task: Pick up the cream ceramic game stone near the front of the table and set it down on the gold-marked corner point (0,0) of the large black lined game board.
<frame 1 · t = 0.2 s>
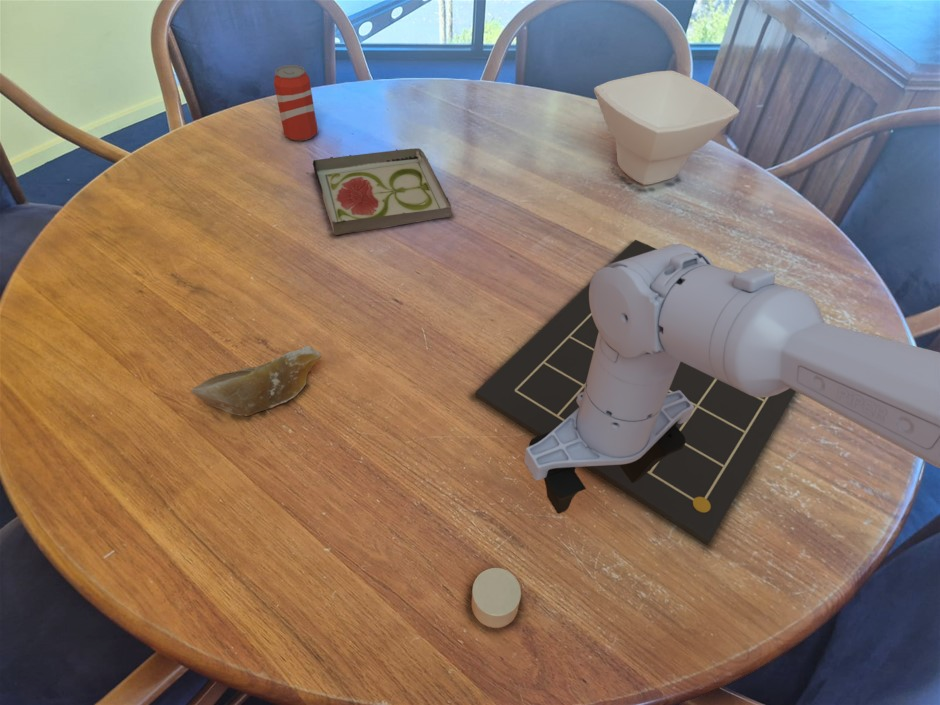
hand: (593, 488, 55), 10 cm above the table, tool pointing down, fingers open, 7 cm apart
game stone: (494, 603, 58), on the table
board: (662, 362, 80), on the table
bowl: (645, 175, 111), on the table
decorative tile: (380, 195, 105), on the table
beverage can: (301, 135, 118), on the table
stone: (264, 391, 75), on the table
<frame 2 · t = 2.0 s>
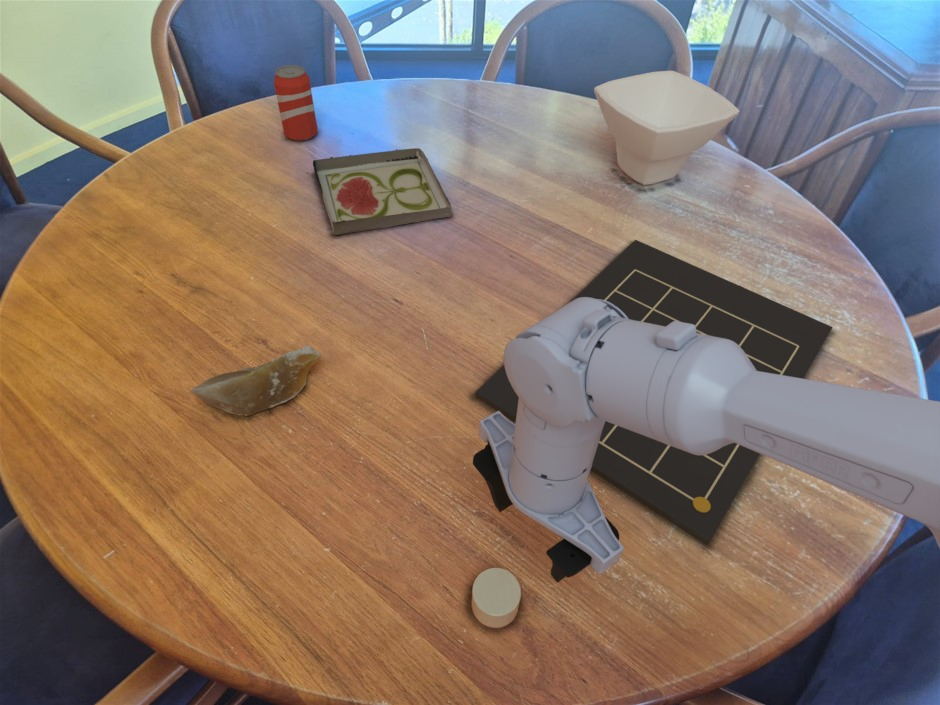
hand: (534, 536, 53), 9 cm above the table, tool pointing down, fingers open, 7 cm apart
nothing on the table moved.
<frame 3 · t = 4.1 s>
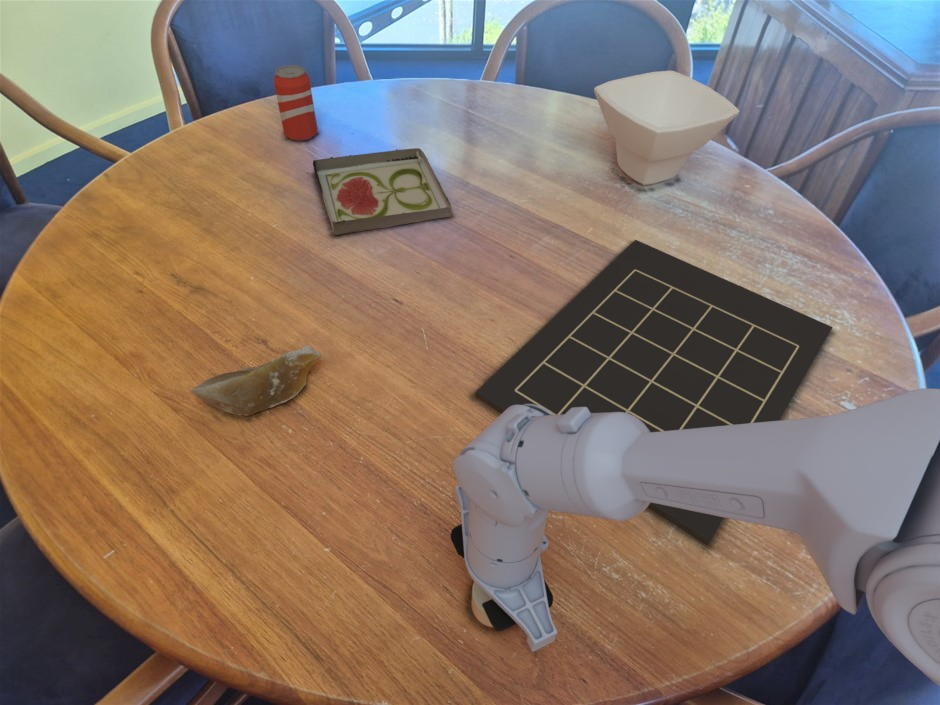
hand: (495, 598, 57), 1 cm above the table, tool pointing down, fingers closed on game stone, 4 cm apart
game stone: (494, 603, 58), on the table, touching gripper
everything else where it was.
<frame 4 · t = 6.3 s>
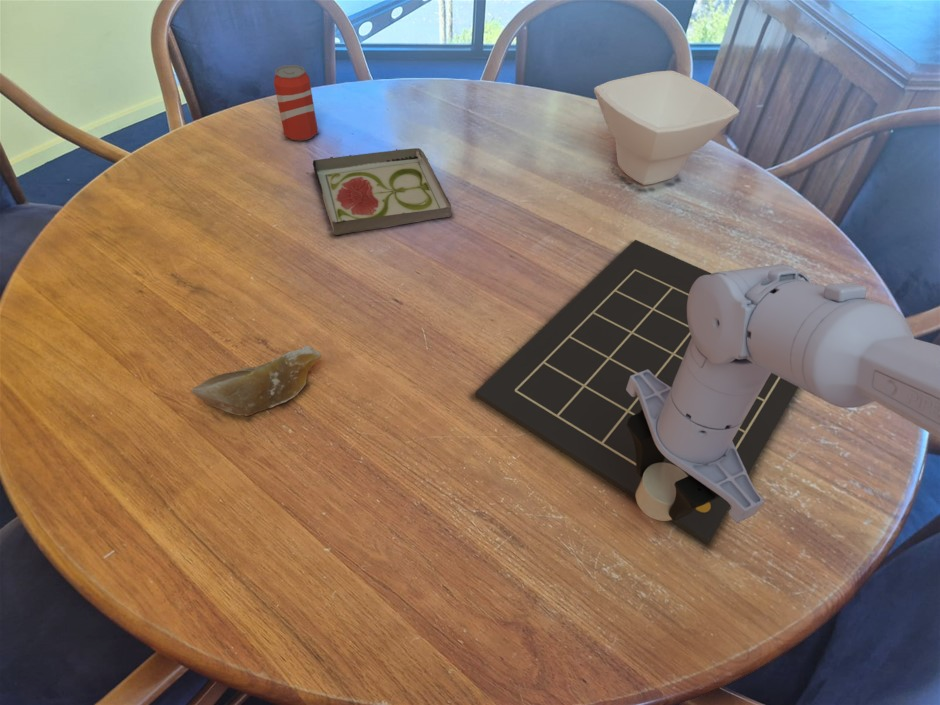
hand: (663, 492, 57), 8 cm above the table, tool pointing down, fingers closed on game stone, 4 cm apart
game stone: (659, 499, 58), point 7 cm above the table, touching gripper
everything else where it was.
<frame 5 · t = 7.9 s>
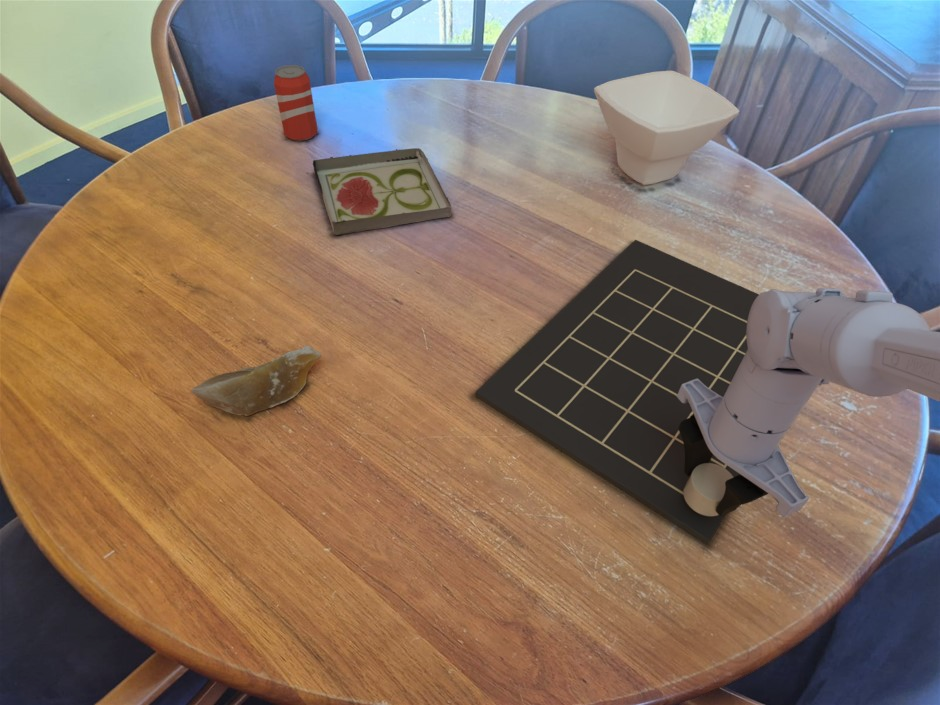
hand: (709, 490, 63), 4 cm above the table, tool pointing down, fingers closed on game stone, 4 cm apart
game stone: (705, 497, 64), point 2 cm above the table, touching gripper
everything else where it was.
when the fingers open (2 cm above the table, at t = 8.8 s): game stone stays where it is, resting on board.
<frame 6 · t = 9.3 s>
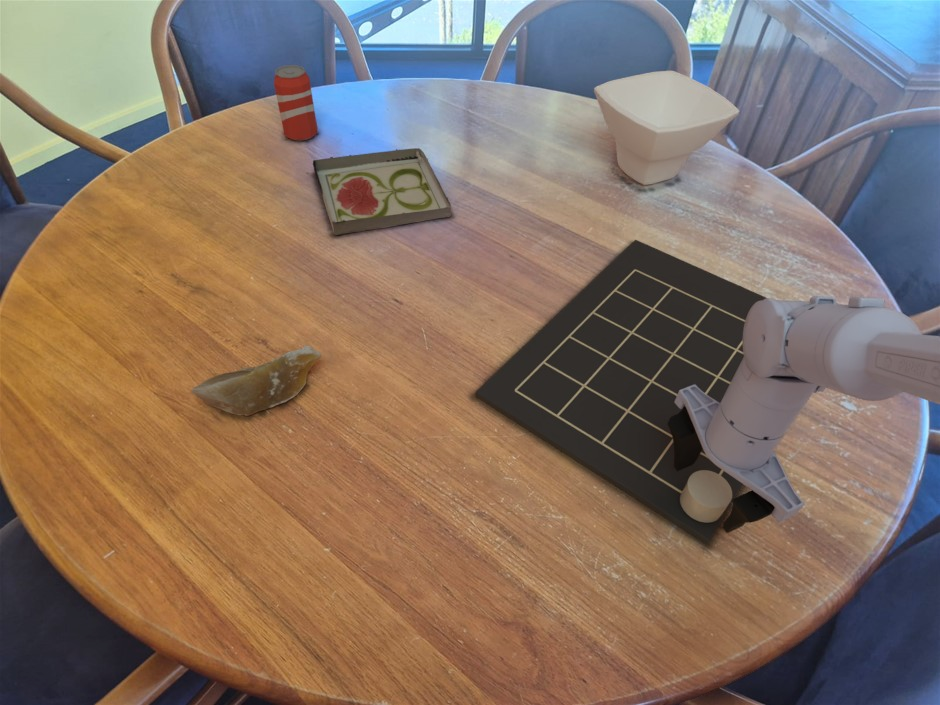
hand: (706, 494, 63), 3 cm above the table, tool pointing down, fingers open, 7 cm apart
game stone: (701, 503, 65), point 1 cm above the table, touching board
everything else where it was.
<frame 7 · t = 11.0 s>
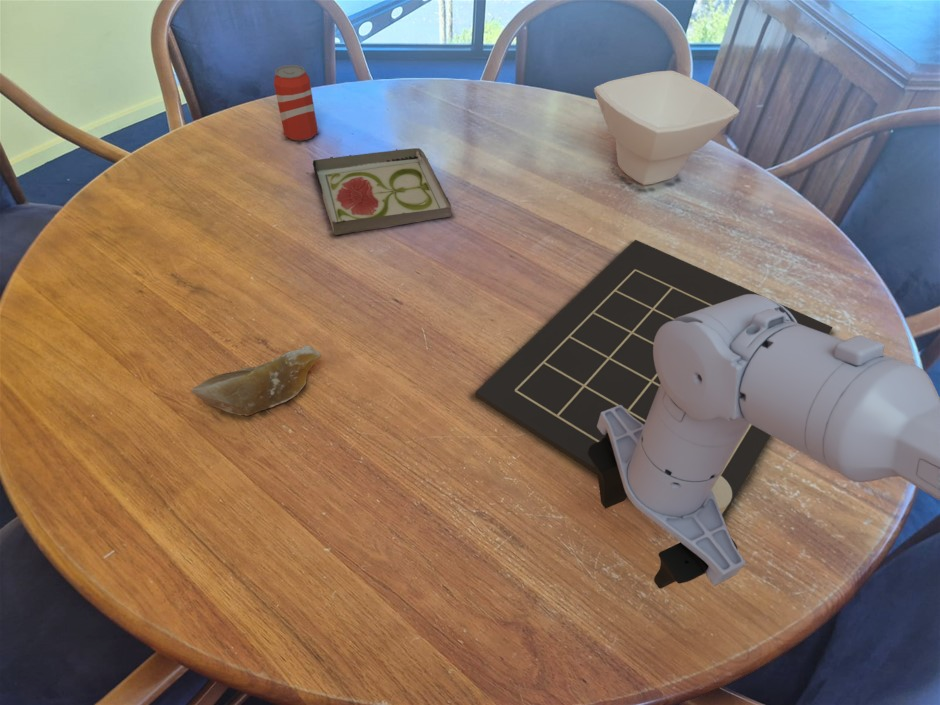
hand: (638, 539, 52), 10 cm above the table, tool pointing down, fingers open, 7 cm apart
nothing on the table moved.
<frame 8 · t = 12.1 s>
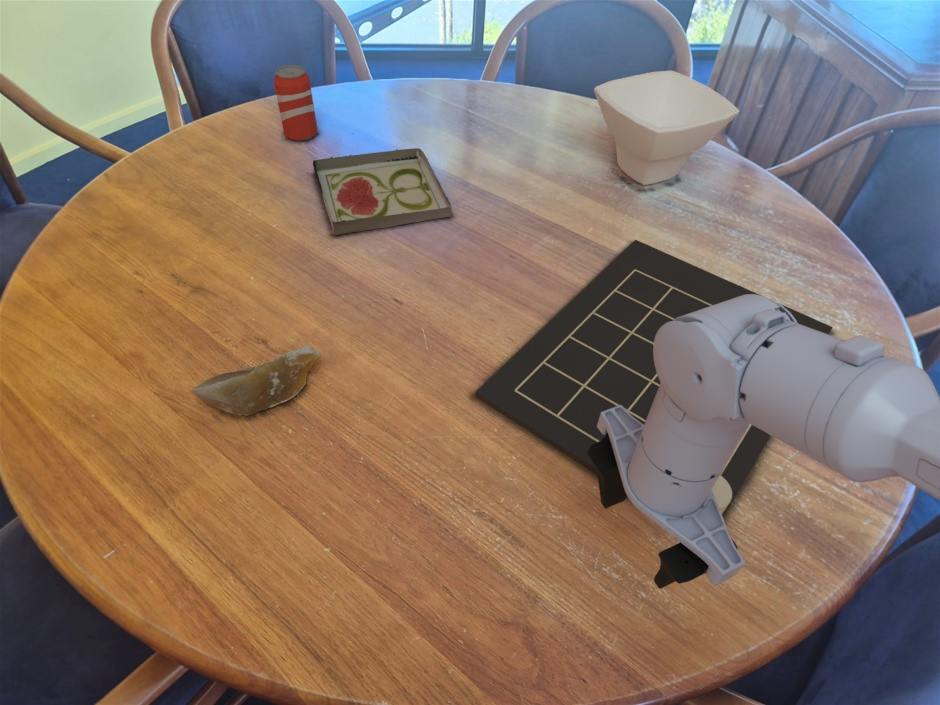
hand: (638, 539, 52), 10 cm above the table, tool pointing down, fingers open, 7 cm apart
nothing on the table moved.
at the end: game stone 0.1 cm from the target spot on the board, point 1.1 cm above the board's base; game stone tilted 0°; the gripper is holding nothing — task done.
